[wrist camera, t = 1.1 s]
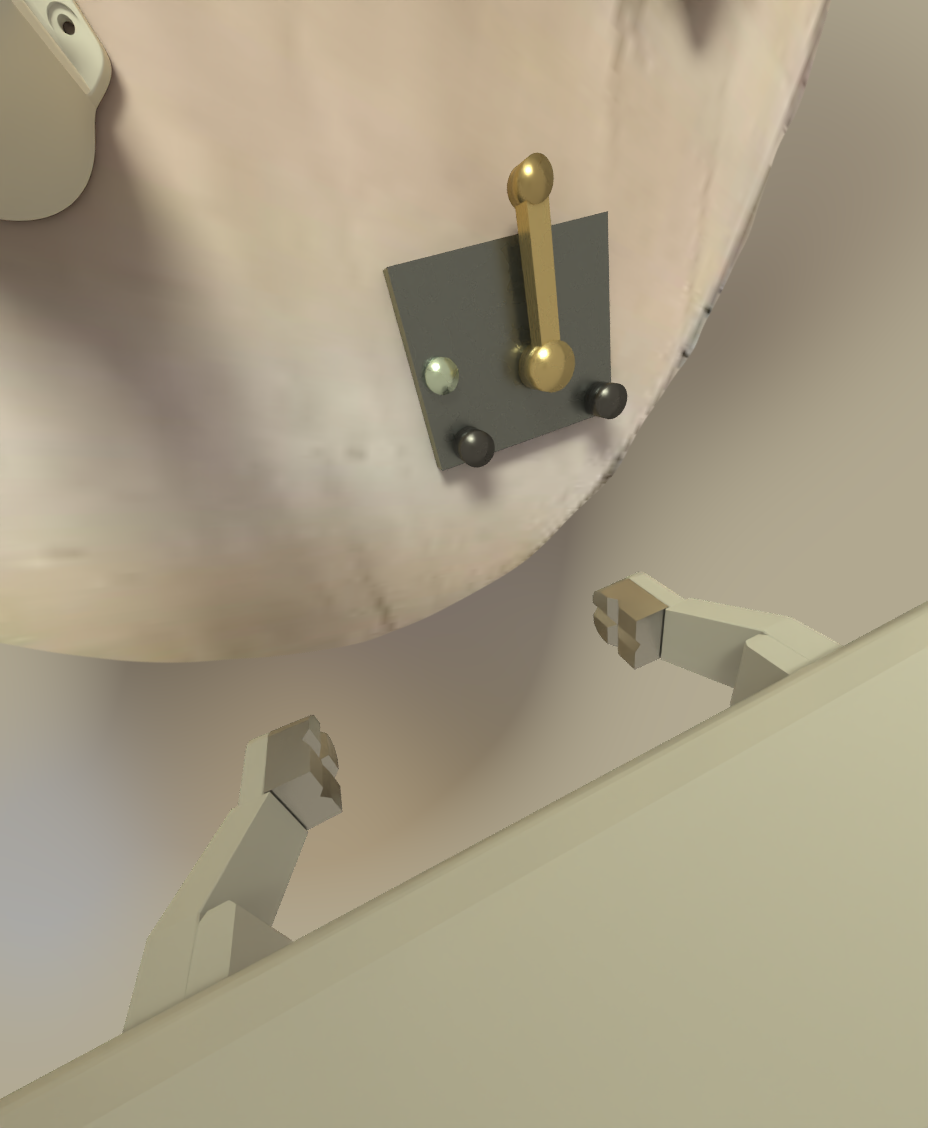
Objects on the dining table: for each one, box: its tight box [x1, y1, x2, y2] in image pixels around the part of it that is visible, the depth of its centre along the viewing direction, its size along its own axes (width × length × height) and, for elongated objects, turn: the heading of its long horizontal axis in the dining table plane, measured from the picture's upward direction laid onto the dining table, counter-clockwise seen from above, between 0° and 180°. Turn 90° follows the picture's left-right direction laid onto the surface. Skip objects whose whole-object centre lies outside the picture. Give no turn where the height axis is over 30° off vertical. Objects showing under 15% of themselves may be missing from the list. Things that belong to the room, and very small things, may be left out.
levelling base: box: [383, 211, 627, 471], centre depth 43 cm, size 20×24×5 cm
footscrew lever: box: [507, 153, 575, 392], centre depth 39 cm, size 19×5×4 cm, turn 14°
